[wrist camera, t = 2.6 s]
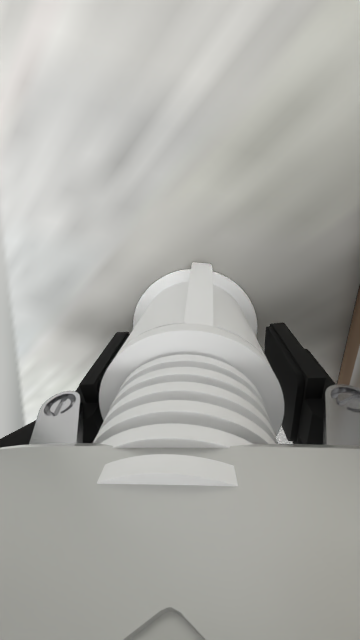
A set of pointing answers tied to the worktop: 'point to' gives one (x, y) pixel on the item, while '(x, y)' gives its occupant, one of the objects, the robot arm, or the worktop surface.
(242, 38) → the worktop surface
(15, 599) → the robot arm
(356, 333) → the silver picture frame
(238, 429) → the downlight
